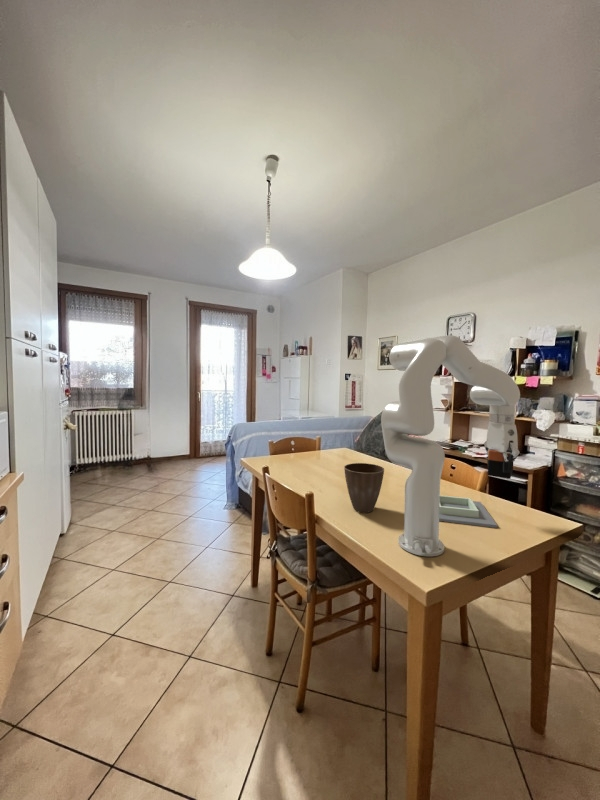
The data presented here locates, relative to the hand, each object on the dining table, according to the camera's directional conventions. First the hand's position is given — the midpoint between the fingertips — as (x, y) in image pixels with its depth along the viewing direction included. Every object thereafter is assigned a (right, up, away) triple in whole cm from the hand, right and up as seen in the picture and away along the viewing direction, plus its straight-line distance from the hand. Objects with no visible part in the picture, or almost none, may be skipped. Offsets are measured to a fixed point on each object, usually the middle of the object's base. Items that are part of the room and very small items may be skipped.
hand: (499, 469), depth 111 cm
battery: (0, -3, 0) cm, 3 cm away
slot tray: (-12, -17, +7) cm, 22 cm away
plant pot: (-46, -17, +9) cm, 50 cm away
